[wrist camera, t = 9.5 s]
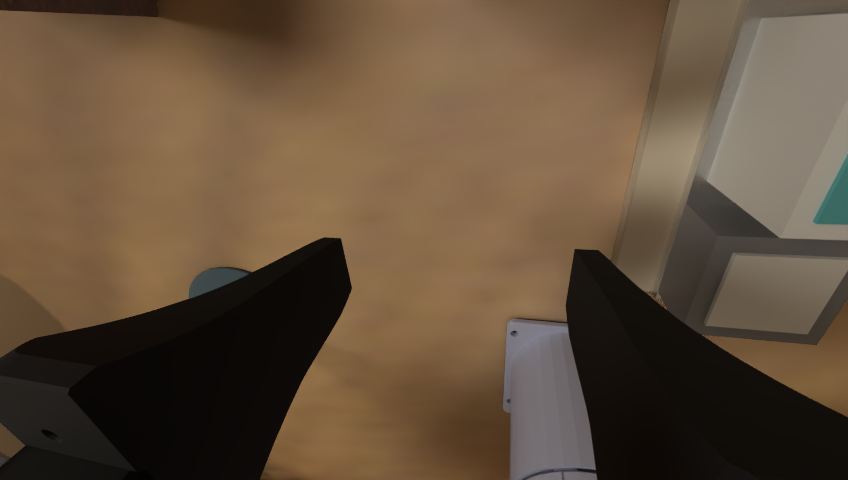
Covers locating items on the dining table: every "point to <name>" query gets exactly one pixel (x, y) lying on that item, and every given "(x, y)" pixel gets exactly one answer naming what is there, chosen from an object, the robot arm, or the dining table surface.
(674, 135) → the rail board
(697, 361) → the robot arm
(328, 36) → the dining table surface
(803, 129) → the block
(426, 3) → the dining table surface
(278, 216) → the dining table surface
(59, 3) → the tissue box cover
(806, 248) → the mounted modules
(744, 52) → the din rail
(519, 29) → the dining table surface
